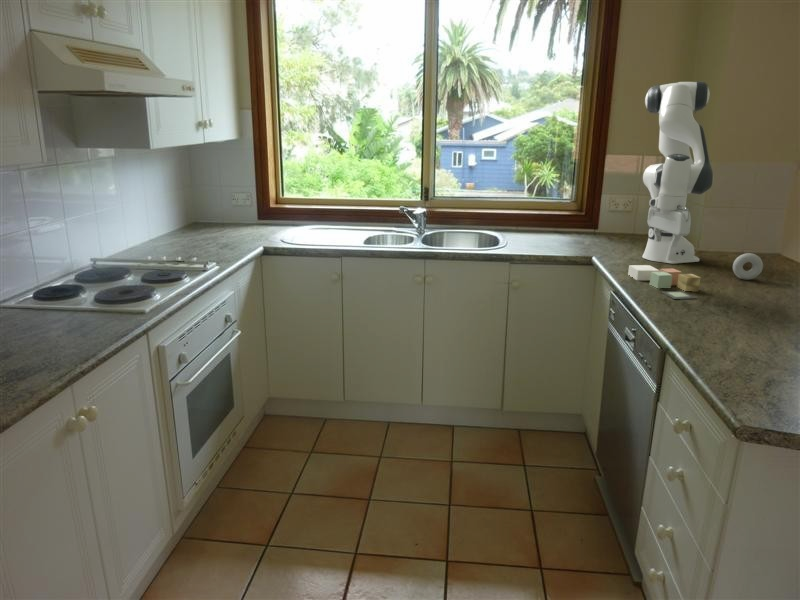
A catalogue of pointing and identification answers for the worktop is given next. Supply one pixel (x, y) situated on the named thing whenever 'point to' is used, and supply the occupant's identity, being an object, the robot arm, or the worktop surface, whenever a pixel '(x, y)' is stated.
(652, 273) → the sage cube
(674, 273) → the terracotta cube
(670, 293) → the tile
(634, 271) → the base block
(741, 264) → the donut
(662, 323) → the worktop surface
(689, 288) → the ochre cube
